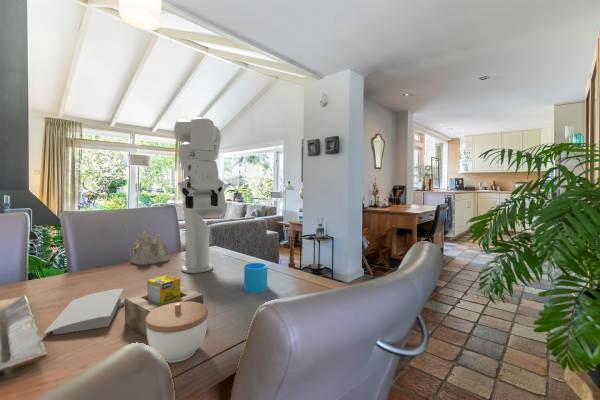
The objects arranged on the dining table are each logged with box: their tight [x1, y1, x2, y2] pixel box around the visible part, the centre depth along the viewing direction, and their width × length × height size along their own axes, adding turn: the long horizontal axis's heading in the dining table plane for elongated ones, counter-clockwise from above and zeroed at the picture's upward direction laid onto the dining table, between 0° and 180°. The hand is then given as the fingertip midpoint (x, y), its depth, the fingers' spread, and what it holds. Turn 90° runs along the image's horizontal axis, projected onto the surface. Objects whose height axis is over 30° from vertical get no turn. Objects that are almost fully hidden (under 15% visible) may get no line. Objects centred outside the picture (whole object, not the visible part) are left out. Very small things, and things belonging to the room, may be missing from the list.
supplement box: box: [147, 274, 181, 306], centre depth 79 cm, size 6×6×11 cm
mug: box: [243, 262, 268, 294], centre depth 106 cm, size 12×8×8 cm
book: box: [42, 287, 125, 336], centre depth 82 cm, size 15×23×4 cm, turn 23°
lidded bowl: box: [145, 301, 209, 364], centre depth 65 cm, size 13×13×11 cm
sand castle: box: [130, 231, 171, 265], centre depth 140 cm, size 16×16×15 cm
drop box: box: [124, 285, 204, 338], centre depth 79 cm, size 14×14×7 cm
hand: (202, 206), depth 100 cm, fingers open, 9 cm apart
